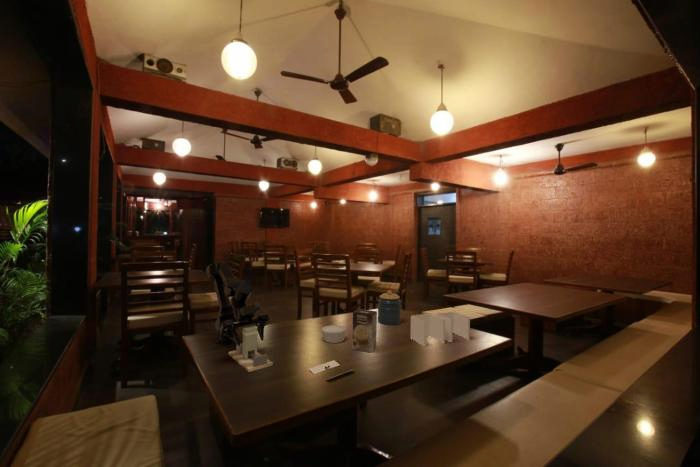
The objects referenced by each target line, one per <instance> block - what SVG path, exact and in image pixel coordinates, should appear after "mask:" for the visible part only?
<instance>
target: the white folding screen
mask: <svg viewBox="0 0 700 467" xmlns="http://www.w3.org/2000/svg"><path fill="white" fill-rule="evenodd" d="M470 324H471V317H470V316H468V315H465V314H462V313H460V312H456V311H445V312H436V313H435V314H432V313H425V314H416V315H414V314H413V315H410V339H411V340H412V339H413V340H412V341H414V340H415V341H416V343H417V342H418V343H417V344H419V345H420V344H421V345H420V346H422V345H423V346H422V347H424V346H425V347H427V337H426V336H431V337H430V338H432V337H433V339H434V338H435V339H434V340H436V339H437V340H436V341H438V340H439V341H438V342H439V343H441V342H442V343H441V344H442V345H444V343H446V342H447V341H448V342H447V343H449V342H452V343H453V334H452V333H455V334H454V335H456V334H457V335H456V336H458V335H459V336H458V337H460V336H462V337H461V338H463V337H464V338H463V339H465V338H466V339H465V340H466V341H470V340H471V339H470V338H471V336H470V334H471V333H470V330H471V329H470V328H471V327H470V326H471V325H470ZM445 340H446V341H445ZM415 341H414V342H415Z"/></svg>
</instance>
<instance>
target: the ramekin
mask: <svg viewBox="0 0 700 467" xmlns="http://www.w3.org/2000/svg"><path fill="white" fill-rule="evenodd" d="M321 332H322V338H323V340H324V342H326V343H328V344H337V343H342V342H344V340H345V339H346V332H347V327H345V326H344V325H343V326H342V325H339V324H337V325H336V324H334V325H333V324H331V325H326V326H323V327H322V328H321Z"/></svg>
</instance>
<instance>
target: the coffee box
mask: <svg viewBox="0 0 700 467" xmlns="http://www.w3.org/2000/svg"><path fill="white" fill-rule="evenodd" d="M377 322H378V310H377V311H376V310H370V309H362V308H357V309H355V310H354V311H352V336H351V337H352V342H351V343H352V344H351V347H352V348H351V350H355V351H361V352H365V353H370V354H372V353H373V352H374V351H375V350H376V349H377V332H378V331H377V327H378V326H377V324H378V323H377Z"/></svg>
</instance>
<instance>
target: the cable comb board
mask: <svg viewBox="0 0 700 467" xmlns="http://www.w3.org/2000/svg"><path fill="white" fill-rule="evenodd" d="M251 351H252V350H251ZM261 355H262V354H261V353H260V352H258V351H257V356H261ZM228 356H230V357H231V358H232V359H233V360H235V361H236V362H237V363H238V365H240V366H241V367H242V368H244V369H245V370H246V371H248V373H250V372H253V371H258V370H261V369H264V368H267V367H271V366H273V364H274V362H273V361H272V360H270V359H268V358H267V364H264V365H260V366H257V367H253V358H252V357H251V356H250V355H248V359H245V358H244V357H243V354H239V353H237V352H236V350H235V349H234V350H231V351H228Z"/></svg>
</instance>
